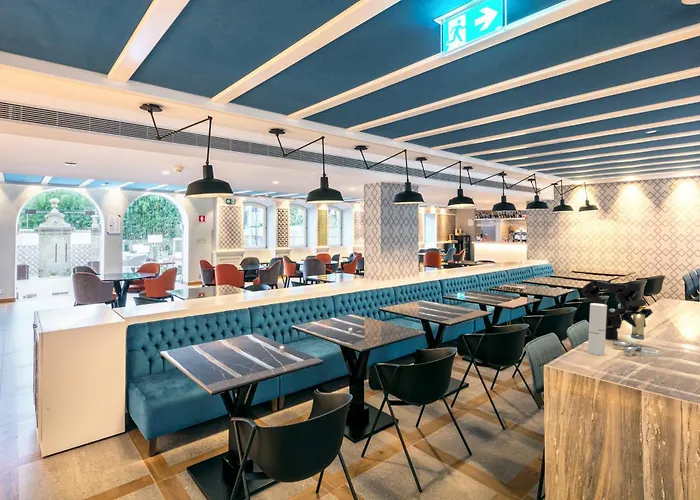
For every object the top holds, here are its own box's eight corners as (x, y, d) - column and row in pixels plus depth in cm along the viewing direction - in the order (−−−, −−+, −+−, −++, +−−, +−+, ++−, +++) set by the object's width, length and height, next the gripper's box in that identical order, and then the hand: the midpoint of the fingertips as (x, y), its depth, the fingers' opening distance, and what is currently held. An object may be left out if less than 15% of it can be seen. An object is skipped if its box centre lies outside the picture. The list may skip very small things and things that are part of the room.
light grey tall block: (607, 355, 192) (609, 306, 191) (591, 354, 194) (593, 305, 193) (600, 351, 199) (603, 303, 198) (585, 350, 201) (587, 303, 200)
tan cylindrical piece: (628, 336, 209) (629, 313, 208) (638, 336, 209) (639, 313, 208) (636, 339, 203) (637, 315, 202) (646, 339, 203) (648, 315, 202)
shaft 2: (635, 353, 197) (635, 344, 197) (641, 355, 194) (642, 346, 194) (623, 354, 195) (623, 345, 194) (629, 356, 192) (629, 347, 191)
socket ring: (641, 355, 194) (641, 351, 194) (632, 350, 203) (632, 346, 203) (663, 357, 192) (663, 353, 192) (652, 351, 201) (652, 348, 201)
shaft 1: (632, 350, 202) (632, 341, 202) (632, 351, 200) (632, 343, 200) (613, 347, 207) (613, 339, 207) (613, 348, 205) (613, 340, 205)
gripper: (617, 293, 208) (631, 318, 198) (651, 294, 209) (667, 318, 198) (606, 305, 217) (619, 329, 206) (639, 305, 217) (653, 329, 207)
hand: (640, 326), depth 204 cm, fingers closed on tan cylindrical piece, 5 cm apart
